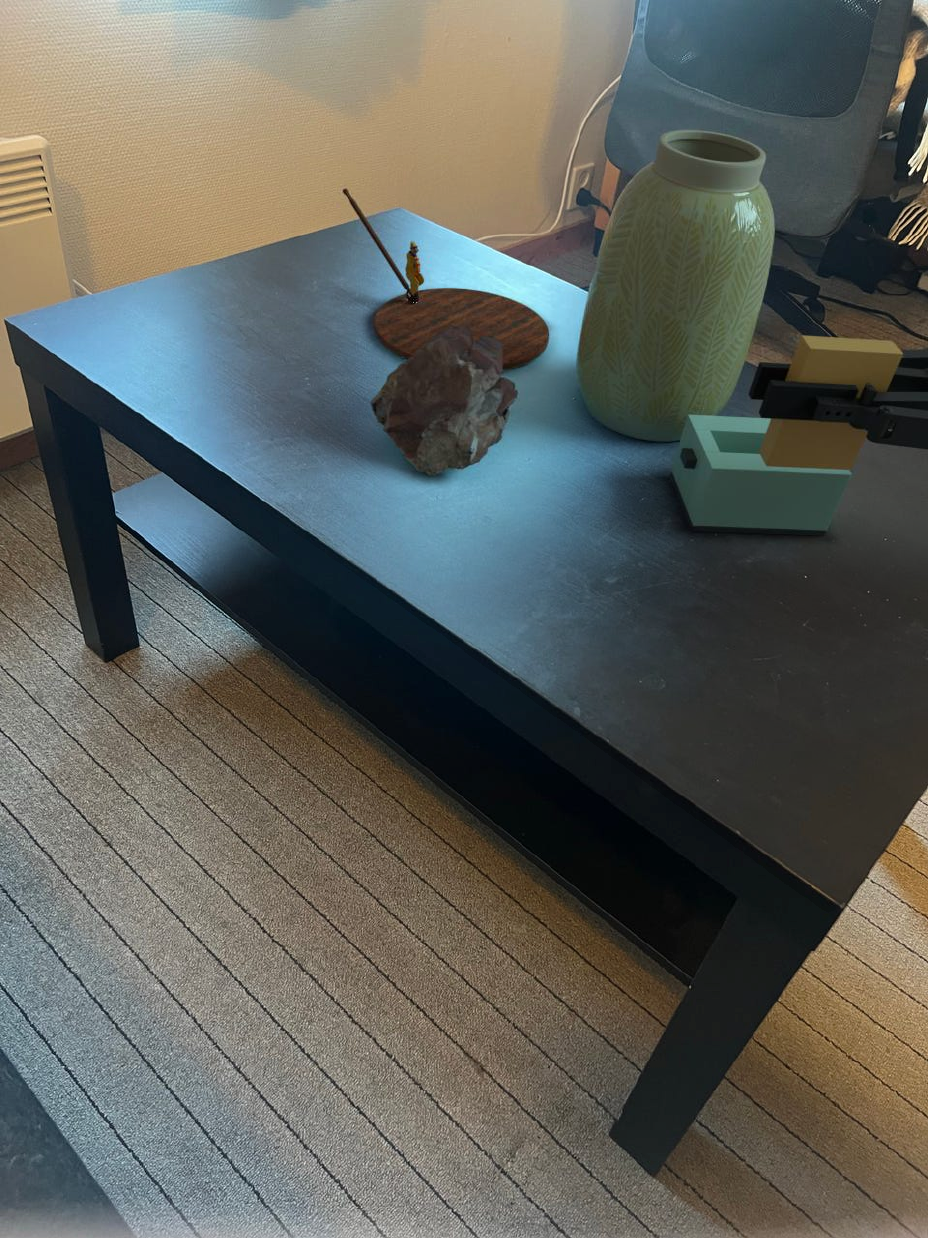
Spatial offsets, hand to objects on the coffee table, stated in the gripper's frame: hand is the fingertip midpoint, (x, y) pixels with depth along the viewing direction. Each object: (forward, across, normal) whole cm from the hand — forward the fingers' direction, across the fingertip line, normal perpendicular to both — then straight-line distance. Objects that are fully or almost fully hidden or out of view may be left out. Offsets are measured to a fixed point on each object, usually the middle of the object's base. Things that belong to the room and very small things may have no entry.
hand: (761, 389), depth 69 cm
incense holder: (+22, +47, -19) cm, 55 cm away
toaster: (-8, +11, -18) cm, 23 cm away
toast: (-6, 0, -6) cm, 8 cm away
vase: (-1, +28, -18) cm, 34 cm away
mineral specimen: (+21, +20, -18) cm, 34 cm away
